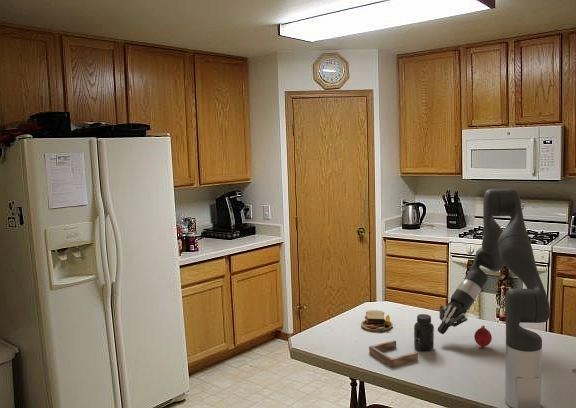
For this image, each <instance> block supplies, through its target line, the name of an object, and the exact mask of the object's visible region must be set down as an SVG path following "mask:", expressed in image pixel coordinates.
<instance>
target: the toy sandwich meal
mask: <svg viewBox="0 0 576 408" xmlns="http://www.w3.org/2000/svg"><path fill="white" fill-rule="evenodd" d="M360 325H361V327H362V328H363V329H364V330H366V331H369V332H376V333H377V332H386V331H388V330H390V329H391V328H392V327H393V323H392V322H391V318H390V315H389V314H387V315H386V317H385V311H383V310H374V309H373V310H372V309H371V310H367V311H365V315H364V320H363V321H362V322H361V323H360Z"/></svg>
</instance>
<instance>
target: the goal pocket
mask: <svg viewBox="0 0 576 408" xmlns="http://www.w3.org/2000/svg"><path fill="white" fill-rule="evenodd" d="M392 349H397V341H396V340H395V339H393V340H389V341H384V342H381V343H377V344H374V345H370V346H369V347H368V351H369V352H368V353H369V354H370V355H372V356H373V357H374V358H376V359H378V360H380V361H381V362H383V363H384V364H386V365H387V366H389V367H391V368H392V367H393V368H394V367H397V366H402V365H404V364H408V363H411V362H415V361H418V360H419V353H418V352H417V351H413V352H410V353H406V354H402V355H400V356H396V357H391V356H389V355H388V354H386V353H384V351H387V350H388V351H389V350H392Z"/></svg>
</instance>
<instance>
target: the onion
mask: <svg viewBox="0 0 576 408" xmlns="http://www.w3.org/2000/svg"><path fill="white" fill-rule="evenodd" d="M473 338H474V341H475V342H476V344H477V345H478V346H480V347H481V348H485V347H487V346H489V345H490V344H491V342H492V340H493V339H492V338H493V336H492V334H491V332H490V331H489V329H487V328H486V326H485V325H483V324H482V325H481V327H479V329H477V330H476V331H475V333H474V336H473Z"/></svg>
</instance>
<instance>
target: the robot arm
mask: <svg viewBox="0 0 576 408" xmlns="http://www.w3.org/2000/svg"><path fill="white" fill-rule="evenodd" d="M482 201H483V204H482V206H483V208H482V209H483V210H482V212H483V214H482V215H483V216H482V217H483V218H482V219H483V221H482V223H483V235H482V240H481V241H482V242H481V247H479V248H478V249H477V250H476V252H475V254H474V259H473V262H472V265H471V267H470V270H469V271H468V273H467V274H466V275H465V277H464V278H463V280H462V281H461V282H460V283H459V285H458V286H457V287H456V289H455V290H454V292H453V294H452V295H451V297H450V301H449V302H447V304H446V305H445V306H443V305H440V306H439V319H440V321H441V323H440V324H439V326H438V327H437V332H438V333H439V334H441V335H444V334H445V333H447V331H448V330H449V328H450V327H454V328H456V327H457V326H460V325H461V324H463V323H465V322H467V321H468V317H467V316H466V313H467V311H469V310H470V309H471V307H472V306H473V305H474V303H475V301H476V300H477V298H478V297H479V295H480V293H481V291H482V289H483V288H484V286H485V285H486V283H487V281H488V280H489V276H488V275H487V273H486V272H484V271H483V270H482V269H481V268H480V267H484V268H485V269H487V270H489V271H491V272H492V273H496V272H500V271H501V270H502V269H503V268H504V266H505V267H506V269H508V270H509V271H510V272H511V273H512V274H513V275H515V277H517V278H518V279H520V280H521V281H522V283H523V284H524V286H525V288H508V290H507V291H506V292H505V295H504V297H505V298H504V311H505V360H504V361H505V366H504V367H505V369H504V379H505V380H504V401H505V404H506V405H508V407H511V408H541V400H542V397H541V396H542V364H543V363H542V361H543V360H542V357H543V339H542V336H541V335H540V334H538V333H536V332H534V331H533V330H530V329H527V328H525V327H523V326H521V325H520V323H525V324H528V323H529V324H530V323H531V324H540V323H541V324H543V323H546V322H547V321H548V320H549V319H550V316H551V305H550V301H549V298H548V294H547V291H546V290H545V289H546V288H545V287H544V285H543V282H542V278H541V277H540V273H539V271H538V268H537V263H536V260H535V255H534V251H533V247H532V243H531V240H530V237H529V234H528V230H527V226H526V224H525V219H524V214H523V208H522V203H521V197H520V194H519V192H518V190H516V189H515V188H490V189H487V190H486V191H485V193H484V196H483V200H482ZM494 217H510V220H509V222H508V223H507V224H506V226H505V227H504V229H502V228H501V225H500V224H499V223H497V221H496V220H495V219H494Z"/></svg>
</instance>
